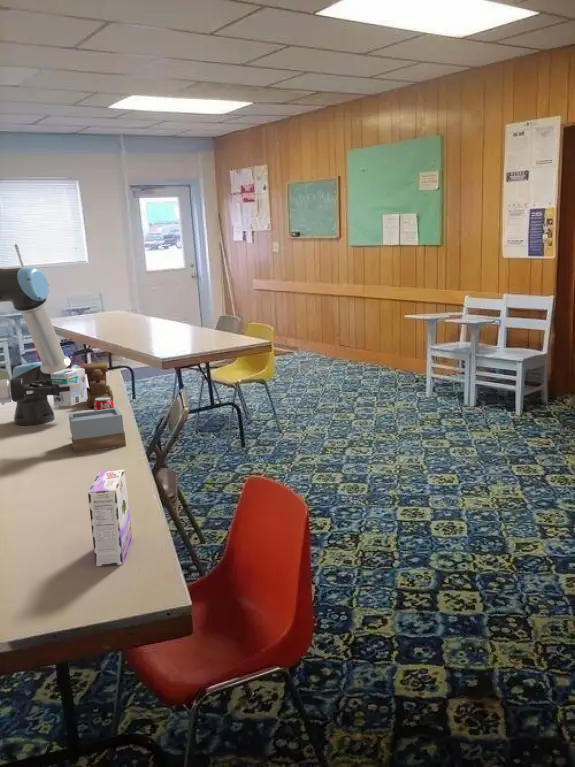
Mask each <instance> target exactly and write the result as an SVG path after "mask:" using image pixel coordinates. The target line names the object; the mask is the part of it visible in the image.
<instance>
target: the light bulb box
mask: <svg viewBox="0 0 575 767" xmlns="http://www.w3.org/2000/svg"><path fill="white" fill-rule="evenodd" d="M86 379H87V377H86V374H85V369H84V368H81V367H80V368H67V369H64V370H61V371H58V372H55V373H52V374H51V382H52V386H59V385H62V384H72V383H80V386H81V391H79V392H70V393H60V396H57V395H52V397H53V406H59V407H60V406H62V407H64V406H65V407H66V406H67V407H71V406H75V405H77V404H79V403H82V402H84V401H86V400H87V399H88V397H87V380H86Z"/></svg>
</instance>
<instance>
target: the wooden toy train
mask: <svg viewBox="0 0 575 767" xmlns="http://www.w3.org/2000/svg"><path fill="white" fill-rule="evenodd" d="M82 367H83V368H84V369H85V375H86V379H87V380H86V381H87V385H88V386H86V388H87V397H88V399H87V400H85V401H86V404H87V408H92V407H93V405H94V402H95V399H96V398H99V397H111V400H112V401H113V402H114V394H113V390H112V389H111V386H110V384H109V385H108V384H107V372H109V369H108V363H106V362H97V363H88V364H83V366H82Z"/></svg>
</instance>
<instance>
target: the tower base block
mask: <svg viewBox="0 0 575 767" xmlns="http://www.w3.org/2000/svg"><path fill="white" fill-rule="evenodd" d="M71 443H72V451H73V454H75V452H78V453H83V451H85V452H91V451H90V450H93V451H98V450H97V449H101V450H106V449H105V448H108V449H114V448H113V447H116V448H122V446H124V447H127V441H126V432H125V431H124V433H119V434H112V435H105V436H98V437H91V438H84V439H77V440H73V438H72V437H71Z"/></svg>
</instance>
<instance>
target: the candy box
mask: <svg viewBox="0 0 575 767" xmlns="http://www.w3.org/2000/svg"><path fill="white" fill-rule="evenodd" d="M87 496H88V505H89V514H90V525H91V533H92V542H93V543H92V546H93V551H94V552H93V554H94V563H95V567H108V566H110V567H112V566H122V565H124V563H125V560H126V556H127V554H128V551H129V547H130V544H131V541H132V539H133V533H132V526H131V525H132V522H131V514H130V506H129V495H128V487H127V477H126V469H114V470H113V469H112V470H102V471H99V472H98V474H97V475H96V478H95V479H94V481H93V483H92V485H91V486H90V488H89V490H88V492H87Z"/></svg>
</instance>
